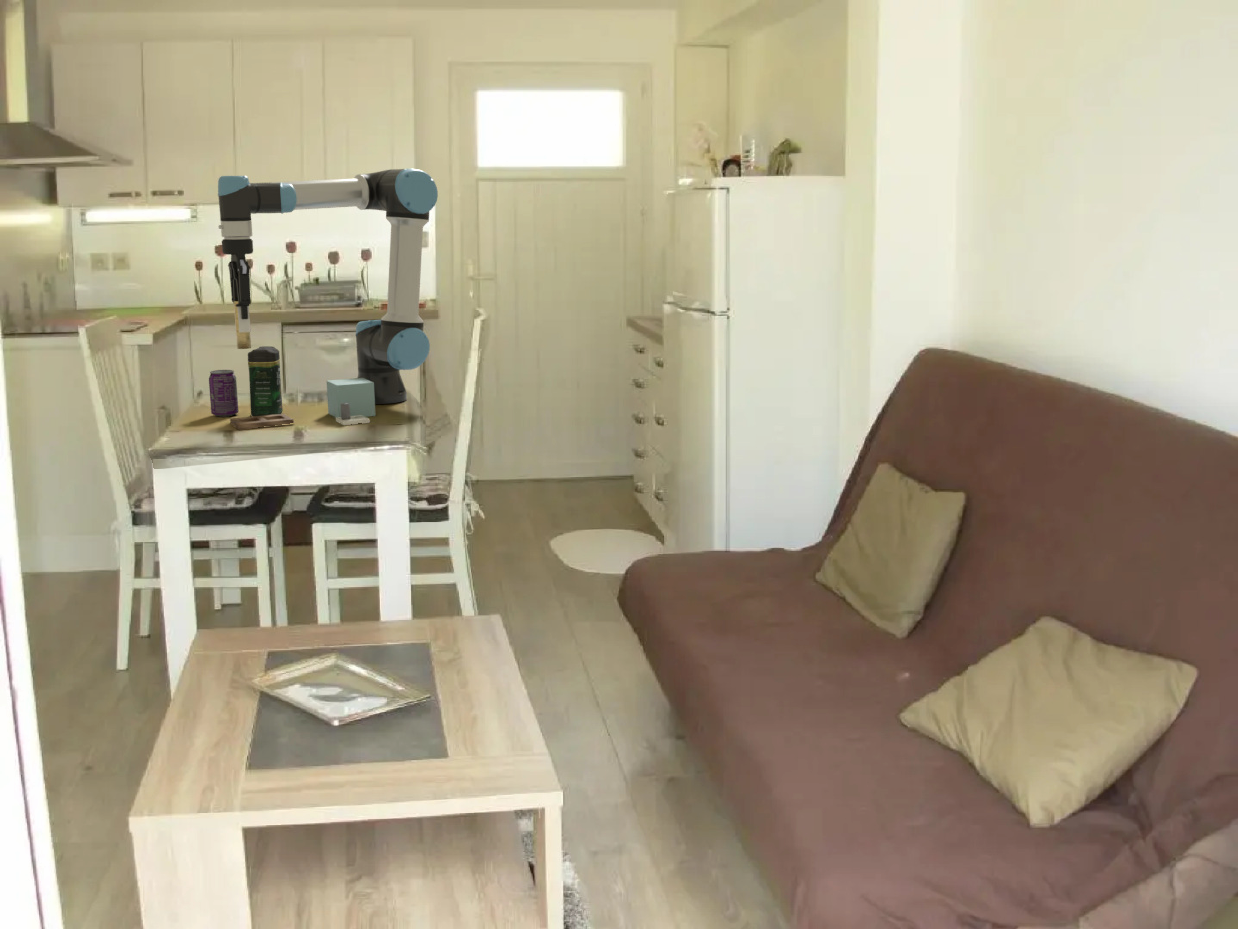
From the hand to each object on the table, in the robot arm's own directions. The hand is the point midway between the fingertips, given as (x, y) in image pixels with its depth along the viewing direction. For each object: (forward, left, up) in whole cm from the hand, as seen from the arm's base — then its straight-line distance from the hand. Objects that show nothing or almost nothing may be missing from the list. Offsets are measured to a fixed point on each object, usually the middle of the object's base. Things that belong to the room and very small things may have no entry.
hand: (243, 331), depth 351 cm
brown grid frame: (-3, 0, -24) cm, 25 cm away
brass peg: (0, 0, -4) cm, 4 cm away
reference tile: (-25, +9, -24) cm, 36 cm away
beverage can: (+2, -19, -25) cm, 31 cm away
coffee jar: (-8, -13, -25) cm, 29 cm away
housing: (-28, -2, -24) cm, 37 cm away
